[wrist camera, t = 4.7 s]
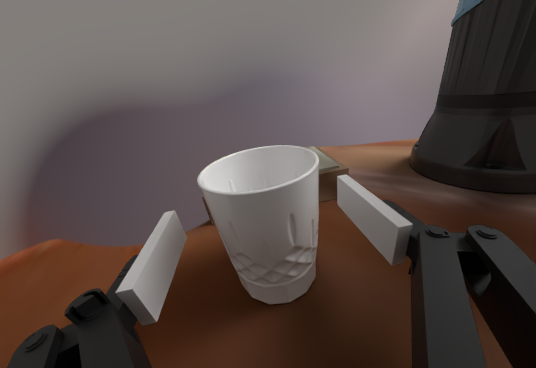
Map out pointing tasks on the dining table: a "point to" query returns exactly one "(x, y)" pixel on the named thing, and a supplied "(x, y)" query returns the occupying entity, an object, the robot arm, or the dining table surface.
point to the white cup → (267, 217)
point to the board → (321, 176)
